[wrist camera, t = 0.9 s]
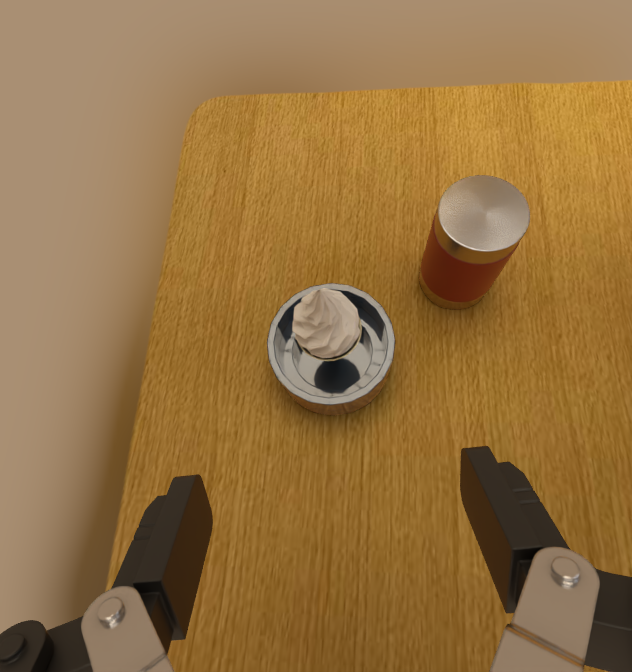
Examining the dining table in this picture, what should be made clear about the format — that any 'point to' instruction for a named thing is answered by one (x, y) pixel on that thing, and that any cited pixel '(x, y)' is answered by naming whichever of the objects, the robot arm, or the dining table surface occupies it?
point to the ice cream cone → (326, 325)
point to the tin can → (471, 240)
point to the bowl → (340, 375)
